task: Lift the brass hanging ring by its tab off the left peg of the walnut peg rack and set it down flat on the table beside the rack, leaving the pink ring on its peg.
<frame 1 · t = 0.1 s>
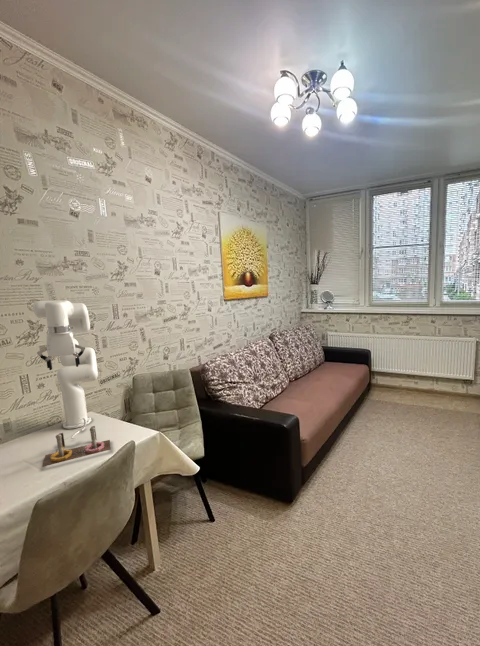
hand: (64, 367, 137), 37 cm above the table, tool pointing down, fingers open, 9 cm apart
peg rack: (79, 455, 134), on the table
pink ring: (94, 448, 137), point 1 cm above the table, touching peg rack
brass ring: (61, 456, 130), point 1 cm above the table, touching peg rack
hook: (75, 437, 150), on the table
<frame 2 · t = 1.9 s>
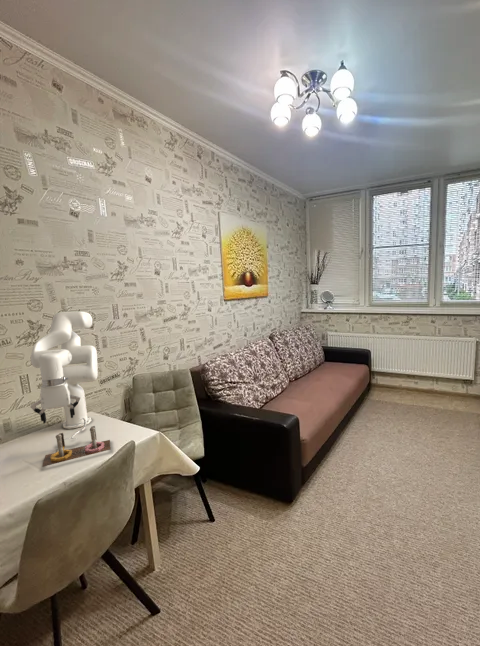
hand: (58, 419, 134), 15 cm above the table, tool pointing down, fingers open, 9 cm apart
nothing on the table moved.
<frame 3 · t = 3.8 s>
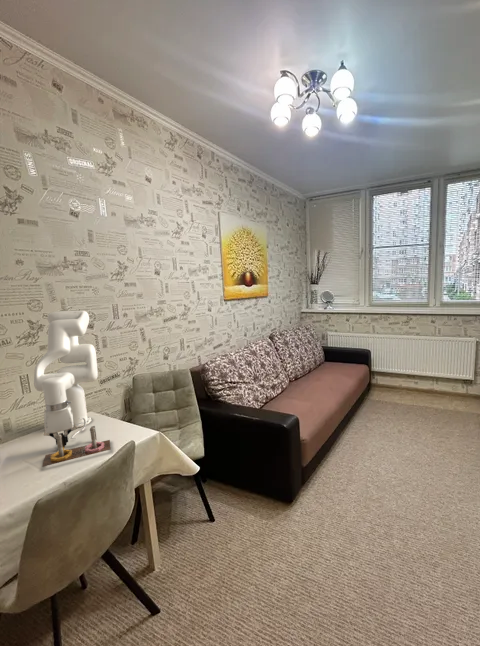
hand: (62, 444, 137), 3 cm above the table, tool pointing down, fingers closed on brass ring
brass ring: (61, 456, 130), point 2 cm above the table, touching gripper, peg rack
everything else where it was.
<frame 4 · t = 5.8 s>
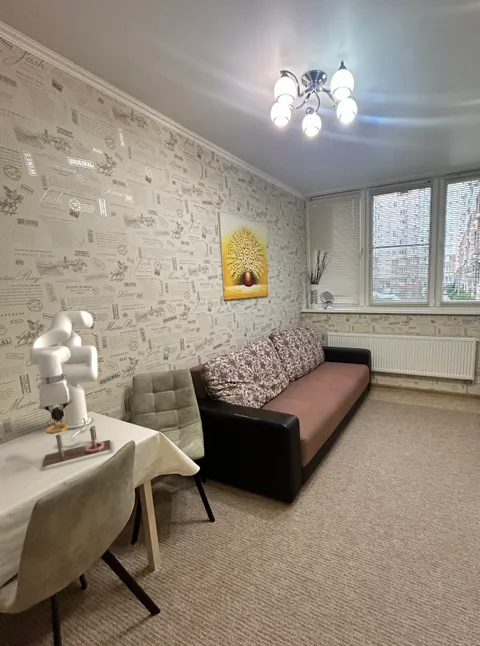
hand: (58, 418, 135), 15 cm above the table, tool pointing down, fingers closed on brass ring
brass ring: (57, 429, 129), point 14 cm above the table, touching gripper
everything else where it was.
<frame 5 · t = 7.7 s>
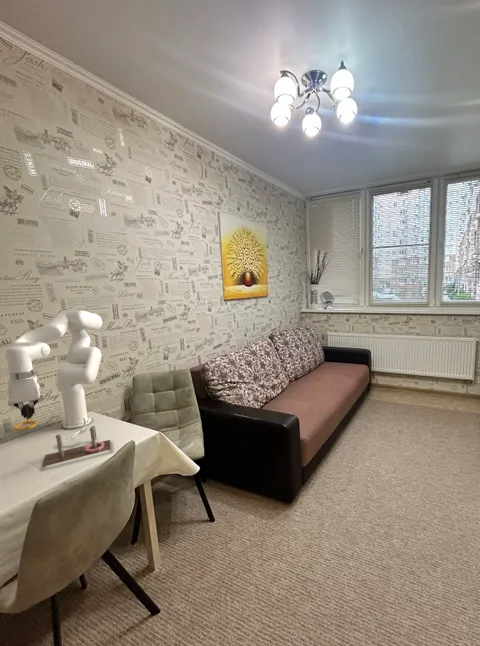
hand: (28, 415, 132), 18 cm above the table, tool pointing down, fingers closed on brass ring
brass ring: (26, 426, 126), point 16 cm above the table, touching gripper
everything else where it was.
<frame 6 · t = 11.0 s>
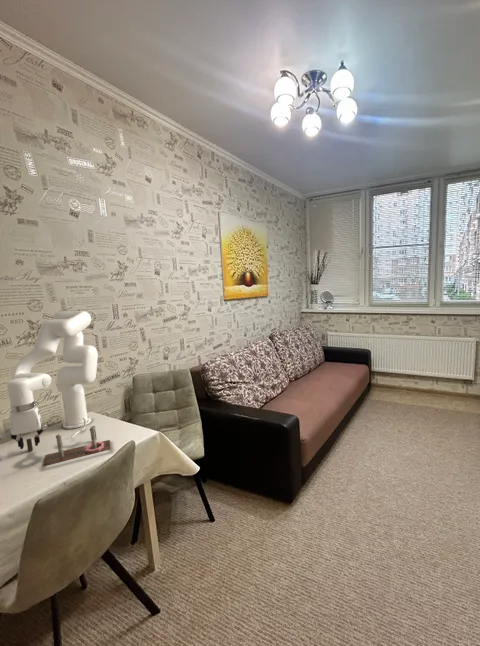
hand: (29, 445, 134), 4 cm above the table, tool pointing down, fingers open, 4 cm apart
brass ring: (28, 462, 129), on the table
everything else where it was.
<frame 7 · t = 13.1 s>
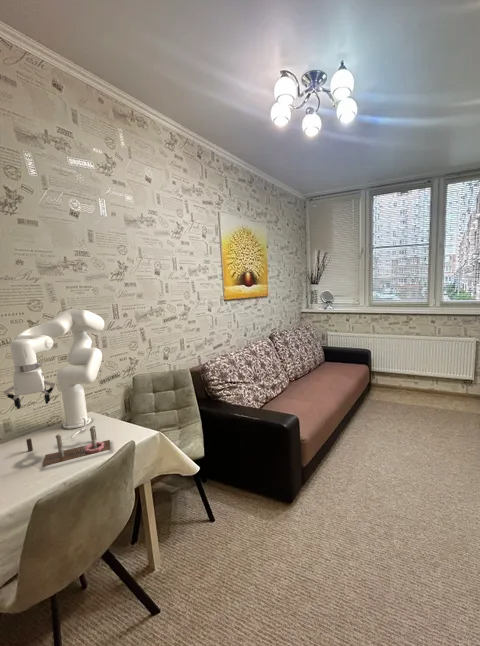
hand: (33, 405, 134), 22 cm above the table, tool pointing down, fingers open, 9 cm apart
nothing on the table moved.
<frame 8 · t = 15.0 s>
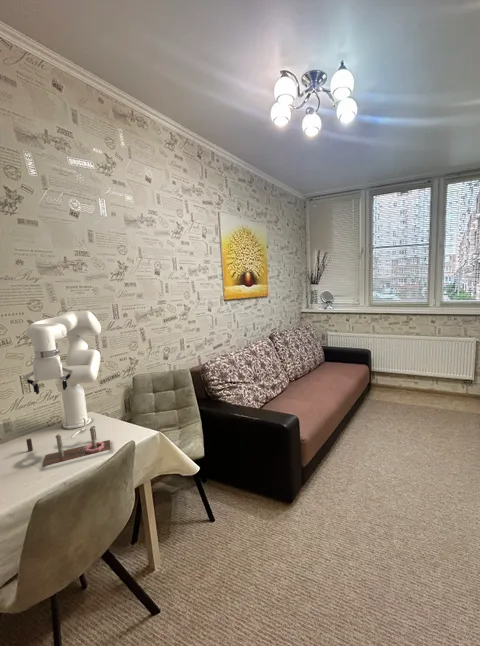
hand: (51, 391, 138), 26 cm above the table, tool pointing down, fingers open, 9 cm apart
nothing on the table moved.
at the end: brass ring inside the target area (0.1 cm from its centre), on the table; the gripper is holding nothing; pink ring 0.0 cm from the target spot, point 1.5 cm above the table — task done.
